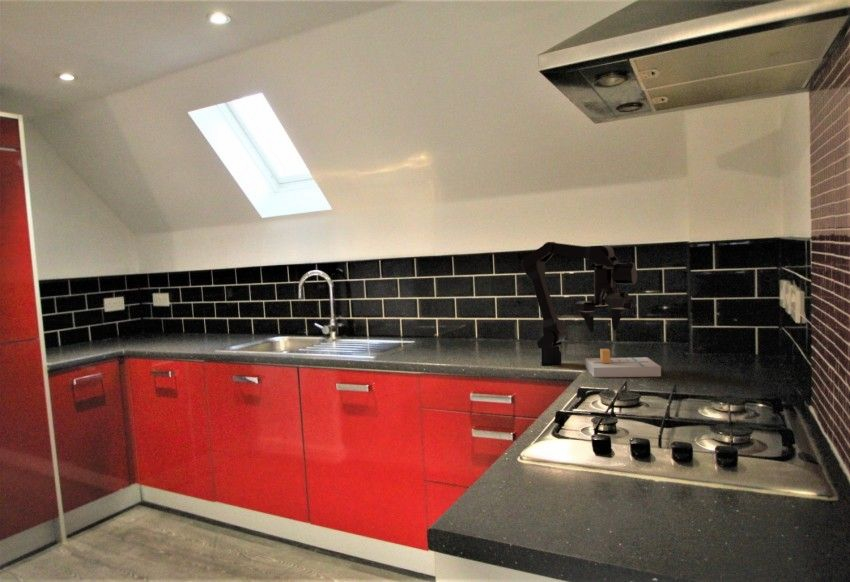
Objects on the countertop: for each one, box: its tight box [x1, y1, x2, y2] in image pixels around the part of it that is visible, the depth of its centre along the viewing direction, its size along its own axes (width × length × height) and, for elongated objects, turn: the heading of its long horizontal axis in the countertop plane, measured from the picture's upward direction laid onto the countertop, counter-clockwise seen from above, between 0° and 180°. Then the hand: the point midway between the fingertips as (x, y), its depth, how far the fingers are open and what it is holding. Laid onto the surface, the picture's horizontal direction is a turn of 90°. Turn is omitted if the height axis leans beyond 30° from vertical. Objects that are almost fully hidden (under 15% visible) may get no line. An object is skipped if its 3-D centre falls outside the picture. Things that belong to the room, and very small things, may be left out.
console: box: [584, 356, 662, 378], centre depth 189 cm, size 20×16×3 cm
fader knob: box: [599, 348, 611, 363], centre depth 189 cm, size 2×4×6 cm, turn 174°
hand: (603, 331), depth 194 cm, fingers open, 9 cm apart
